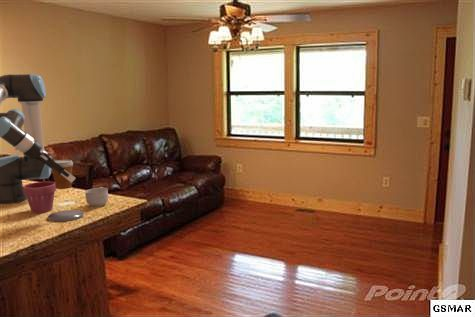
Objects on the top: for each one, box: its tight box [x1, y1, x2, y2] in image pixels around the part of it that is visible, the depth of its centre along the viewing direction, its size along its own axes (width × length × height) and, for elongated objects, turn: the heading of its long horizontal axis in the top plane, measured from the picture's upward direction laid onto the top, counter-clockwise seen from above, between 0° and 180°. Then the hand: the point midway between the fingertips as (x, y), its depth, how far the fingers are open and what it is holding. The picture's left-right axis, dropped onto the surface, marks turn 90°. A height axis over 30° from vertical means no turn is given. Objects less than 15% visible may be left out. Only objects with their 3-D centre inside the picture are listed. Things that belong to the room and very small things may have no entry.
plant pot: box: [23, 181, 57, 214], centre depth 200 cm, size 14×14×13 cm
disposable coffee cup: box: [51, 159, 74, 190], centre depth 187 cm, size 10×10×12 cm
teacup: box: [84, 186, 109, 208], centre depth 210 cm, size 14×11×8 cm
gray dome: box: [47, 209, 84, 223], centre depth 191 cm, size 15×15×1 cm
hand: (70, 178), depth 190 cm, fingers closed on disposable coffee cup, 9 cm apart
